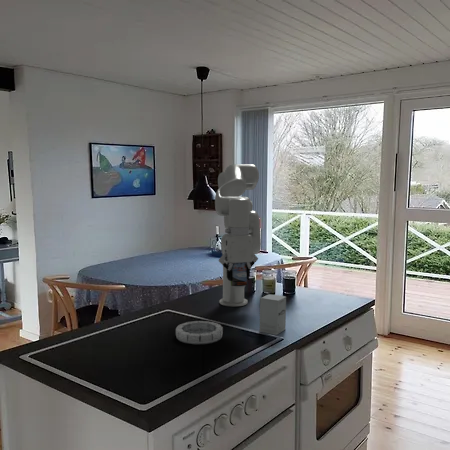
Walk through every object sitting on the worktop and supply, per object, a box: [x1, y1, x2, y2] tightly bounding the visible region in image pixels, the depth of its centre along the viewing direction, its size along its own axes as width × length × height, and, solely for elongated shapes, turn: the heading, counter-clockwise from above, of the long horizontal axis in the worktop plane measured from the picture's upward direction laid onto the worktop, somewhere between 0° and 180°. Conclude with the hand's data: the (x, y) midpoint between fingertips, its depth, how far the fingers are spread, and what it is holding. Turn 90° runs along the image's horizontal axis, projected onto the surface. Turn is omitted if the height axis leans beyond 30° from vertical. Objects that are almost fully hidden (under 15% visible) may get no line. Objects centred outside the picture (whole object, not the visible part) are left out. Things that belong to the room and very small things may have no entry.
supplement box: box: [259, 294, 287, 336], centre depth 166 cm, size 7×7×13 cm
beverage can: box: [231, 263, 248, 288], centre depth 170 cm, size 6×7×12 cm
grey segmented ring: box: [175, 320, 224, 345], centre depth 160 cm, size 16×16×3 cm
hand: (238, 279), depth 171 cm, fingers closed on beverage can, 6 cm apart
